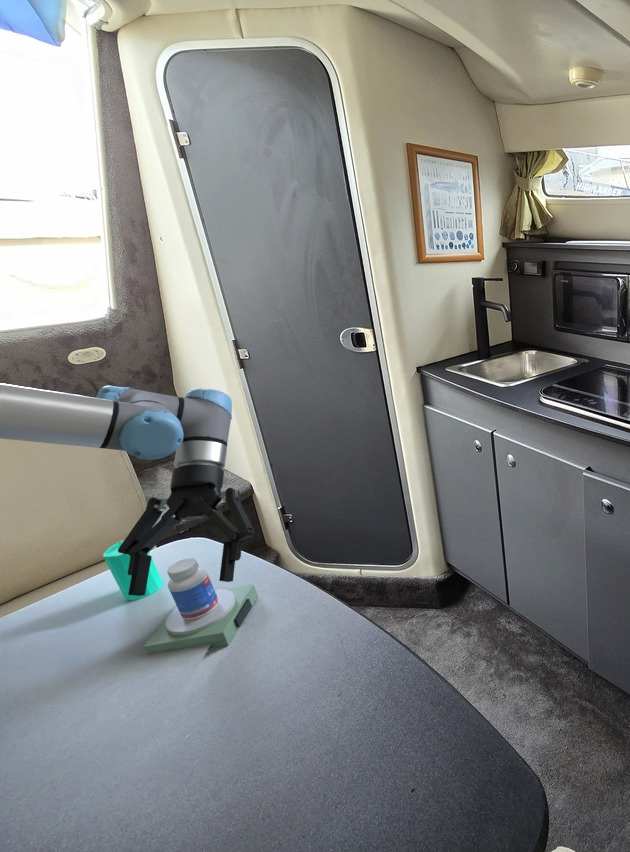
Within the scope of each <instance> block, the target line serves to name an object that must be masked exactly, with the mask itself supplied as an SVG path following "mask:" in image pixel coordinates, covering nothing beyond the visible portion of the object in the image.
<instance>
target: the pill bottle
mask: <svg viewBox="0 0 630 852" xmlns="http://www.w3.org/2000/svg"><path fill="white" fill-rule="evenodd" d="M166 572H167V575H168V578H169V581H168V582H167V588H168V590H169V592H170V594H171V597H172V599H173V601H174V603H175V606H176V605H177V608H178V610H179V612H180V614H181V616H182V618H183V619H185V620H194V619H197V618H200V617H203V616H205V615H207V614H208V613H210V612H211V611H213V610H214V609H215V608H216V606H217V605H218V597H217V595H216V593H215V590H216V589H215V588H214V586H213V583H212V580H211V578H210V575H209V574H208V571H207V570H206V569H205V568H203V567H201V566H200V565H199V563H198V561H197V559H196V558H194V557H188V558H183V559H181V560H178V561H176V562H174V563H172V564H171V565H169V567H168V568H167V570H166Z"/></svg>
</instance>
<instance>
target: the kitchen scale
mask: <svg viewBox="0 0 630 852" xmlns="http://www.w3.org/2000/svg"><path fill="white" fill-rule="evenodd" d="M214 590H215V593H216V595H217V597H218V605H217V606H216V608H215V609H214V610H213V611H211V612H210V613H208V614H207V615H205V616H203V617H200V618H197V619H194V620H185V619H183V618H182V616H181V614H180V612H179V610H178V608H177V605H176V604H175V605H174V607H173V608H172V610H170V612H169V613H168V614H167V616H166V617H165V618H164V620H162V622H161V624H160V625H159V626H158V627H157V629H156V630H155V631H154V633H152V635H151V636H150V637H149V639H148V640H147V641H146V642H145V644H144V645H143V649H144V651H145V653H146V655H153V654H159V653H163V652H169V651H175V650H180V649H187V648H191V647H197V646H202V645H208V644H210V646H209V647H208V650H212V649H216V648H223V647H228V646H230V644H231V642H232V641H233V639H234V637H235V636H236V634H237V632H238V631H239V629H240V627H241V626H242V624H243V622H244V621H245V619H246V618H247V616H248V615H249V612H250V610H251V608H252V607H253V605H254V603H255V602H256V600H257V599H258V597H259V594H258V592H257V590H256V587H255V585H254V583H251V584H246V585H239V586H233V587H228V588H221V589H214Z"/></svg>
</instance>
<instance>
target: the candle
mask: <svg viewBox="0 0 630 852" xmlns="http://www.w3.org/2000/svg"><path fill="white" fill-rule="evenodd" d="M124 540H125V539H123V540H121V539H120V540H119V542H116V543H115V544H113V545H111V546H110V547H108V548H106V550H105V551H104V552H103V554H102V556H103V560H104V561H105V563H106V565H107V566H108V568H109V571H110V573H111V574H112V576H113V578H114V580H115V582H116V584H117V586H118V588H119V590H120V592H121V594H122V596H123V598H124V599H125V600H126V601H136V600H141V599H143V598H146V597H148V596H151V595H152V594H153V593H155V592H157V591H158V590H160V588H161V587H162V586H163V584H164V583H163V582H164V581H163V578H162V577H161V574H160V572H159V570H158V568H157V566H156V563H155V562H154V559H153V558H151V563H150V569H149V575H148V581H147V587H146V592H145V595H142V596H135V595H128V593H129V588H130V582H131V577H132V576H131V575H128V568H129V562H130V555H128V554H123V553H119V552H118V549H119V547H120V546H121V544H122V543H123V541H124ZM147 555H149V556H152V555H151V552H149V553H148V554H147Z"/></svg>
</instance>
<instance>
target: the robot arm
mask: <svg viewBox="0 0 630 852" xmlns="http://www.w3.org/2000/svg"><path fill="white" fill-rule="evenodd" d="M232 413H233V401H232V398H231V397H230V395H229V394H228V393H225V392H223V391H221V390H217V389H214V388H213V389H212V388H207V389H206V388H195V389H192V390H191V389H190V390H189V391H188V392H187V393H186V394H185V396H184V397H183V396H182V397H180V396H174V395H168V394H164V393H163V394H162V393H157V392H153V391H148V390H147V391H146V390H140V389H135V388H132V387H130V386H129V387H128V386H127V387H123V386H115V385H104V386H102V387H101V388H100V389H99V390H98V392H97V394H96V396H95V397H92V396H86V395H81V394H74V393H67V392H60V391H53V390H47V389H40V388H34V387H27V386H22V385H14V384H8V383H2V382H0V439H1V440H11V441H22V442H33V443H43V444H53V445H62V446H63V445H65V446H72V447H73V446H74V447H85V448H93V449H105V450H114V451H123V452H125V453H127V454H129V455H131V456H132V457H134V458H137V459H141V460H147V461H148V460H149V461H150V460H159V459H163V458H166V457H169V456H170V455H172V454H173V453H174V452H175V454H174V455H175V456H174V461H173V467H174V468H175V469H173V470H172V474H171V479H170V485H169V486H170V495H169V497H167V498H157V497H150V498H149V499H148V501H147V504H146V507H145V510H144V511H143V513H142V514H141V516H140V517H139V519H138V520H137V521H136V523H135V524H134V526H133V527H132V529H131V530H130V531H129V533H128V534H127V536H126V537H125V538H124V539H123V540H124V541H123V540H122V541H123V543H122V544H121V546H120V547H119V549H118V552H119V553H123V554H128V555H130V562H129V568H128V575H131V576H132V577H131V582H130V588H129V593H128V595H135V596H142V595H145V592H146V587H147V581H148V575H149V569H150V563H151V558H152V557H153V556H152V555H151V556H149V555H147V554H148V553H150V552H151V551H152V550H153V549H154V548H155V547H156V545H158V544H159V542H160V541H161V540H163V538H165V536H167V534H168V533H170V531H172V529H173V528H174V527H175V526H177V525H179V524H181V522H182V521H187V522H188V521H192V520H195V519H199V520H201V519H206V518H207V517H208V519H210V521H211V522H212V523H214V524H215V526H216V527H217V528H218V529H219V530H220V531H221V532H222V533H223V535H225V537H226V538H227V540H228V541H224V542H223V546H222V555H221V561H220V562H221V563H220V571H219V582H225V583H230V582H234V576H235V567H236V562H237V561H240V559H241V557H242V547H243V543H244V541H245V540H248V539H250V538H254V537H255V535H256V531H255V528H254V527H253V525H252V522H251V521H250V519H249V517H248V514H247V513H246V511H245V509H244V507H243V505H242V502H241V492H240V491H239V490H237V489H235V488H233V487H228V488H226V490H224V491H222V488H223V484H224V477H225V471H224V468H225V466H226V460H227V450H228V442H229V435H230V429H231V428H230V427H231V422H232V419H233V415H232ZM222 500H223V501H224V502H225V503H226V505H227V507H228V510H229V511H230V514H231V515H232V518H233V520H234V522H235V524H236V526H237V528H236V527H235V526H234V525H233V524H232V523H231V522H230V521H229V520H228V519H227V517H226V516H224V514H223V512H222V511H221V510H220V509H219V508H218V507H217V506H218V505H219V504H220V502H222ZM167 507H168V509H167ZM163 512H164V513H163ZM159 519H160V520H159ZM152 559H153V558H152Z"/></svg>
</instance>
